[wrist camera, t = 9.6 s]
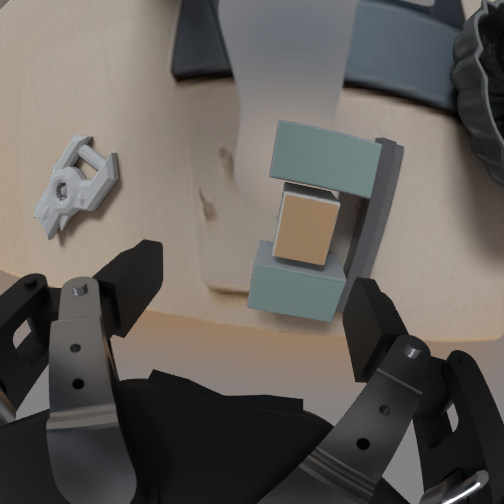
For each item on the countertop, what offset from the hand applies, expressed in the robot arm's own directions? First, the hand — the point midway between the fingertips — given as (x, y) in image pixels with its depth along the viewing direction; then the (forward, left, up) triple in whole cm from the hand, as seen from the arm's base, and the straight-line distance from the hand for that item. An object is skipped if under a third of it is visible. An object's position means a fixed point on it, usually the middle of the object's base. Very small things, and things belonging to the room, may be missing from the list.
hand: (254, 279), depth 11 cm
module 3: (+8, +4, -19) cm, 22 cm away
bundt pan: (-20, +28, -20) cm, 40 cm away
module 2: (+2, +3, -20) cm, 20 cm away
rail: (+2, +10, -20) cm, 22 cm away
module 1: (-5, +4, -20) cm, 20 cm away
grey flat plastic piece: (+3, -28, -20) cm, 34 cm away
